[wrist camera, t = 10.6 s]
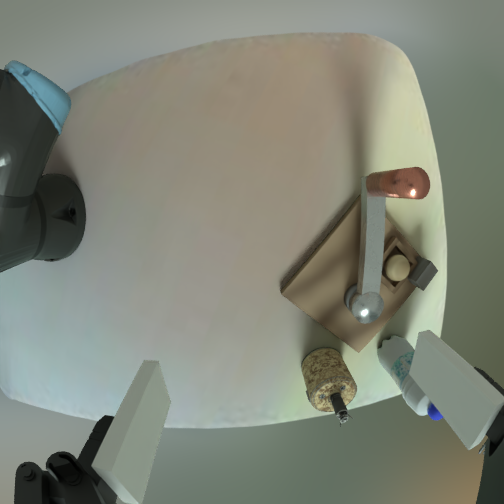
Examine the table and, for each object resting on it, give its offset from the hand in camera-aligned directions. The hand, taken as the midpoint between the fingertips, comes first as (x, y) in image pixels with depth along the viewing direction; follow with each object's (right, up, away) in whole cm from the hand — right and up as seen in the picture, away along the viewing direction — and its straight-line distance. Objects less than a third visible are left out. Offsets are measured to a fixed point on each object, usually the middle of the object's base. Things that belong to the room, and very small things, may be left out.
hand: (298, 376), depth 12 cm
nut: (+20, +4, +27) cm, 34 cm away
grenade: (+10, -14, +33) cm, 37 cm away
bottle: (+23, -12, +32) cm, 41 cm away
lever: (+14, +6, +24) cm, 29 cm away
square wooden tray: (+15, +2, +29) cm, 33 cm away
